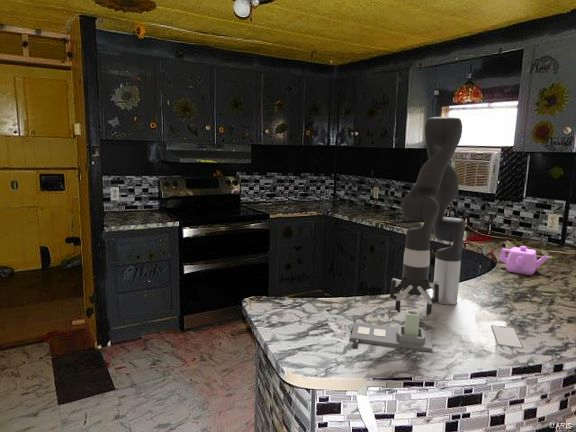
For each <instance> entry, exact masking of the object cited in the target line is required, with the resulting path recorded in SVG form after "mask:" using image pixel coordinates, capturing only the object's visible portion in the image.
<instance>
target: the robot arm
mask: <svg viewBox="0 0 576 432" xmlns="http://www.w3.org/2000/svg"><path fill="white" fill-rule="evenodd" d="M462 123H463V122H462V120H461V118H460V117H457V116H434V117H429V118H427V120H426V121H425V123H424V139H425V145H426V151H427V155H428V156H427V157H428V160H426V162H424V163H423V165H422V167H421V168H420V170H419V173H418V175H417V178H416V182H415V184H414V185H413V186H412V188H411V189H410V191H409V192H408V193H407V195H406V196H405V198H404V199H403V201H402V204H401V208H400V211H401V214H402V216H403V218H404V219H407V220H411V221H419V222H423V224H422V225H421V226H415V227H411V228H408V229H407V230H406V235H405V247H404V253H403V264H402V265H403V266H402V277H401V279H398V278H395V277H392V278H391V284H390V290H389V291H390V294H389V298H390V299H393V300H394V301H395V306H394V307H395V308H394V309H395V311H397V313H398V314H400V313H401V302H402V301H401V300H402V298H404V297H405V296H406V295H408V296H417V297H420V296H422V297H423V298H424V299H425V301H426V308H425V309H426V310H425V315H426V316H428V317H429V316H430V315H431V314H432V308H433V304H440V305H446V306H447V305H451V306H452V305H456V304H458V296H459V295H458V294H459V285H460V284H459V283H460V275H461V262H462V254H463V244H464V239H465V238H464V236H465V233H466V232H465V231H466V224H465V223H466V222H465V220H464V219H462V218H458V217H447V216H445V214H444V213H445V211H447V208H448V207H449V206H450V205H451V204H452V203H453V202H454V200H455V199H456V197H457V196H458V194H459V187H460V186H459V175H458V173H457V171H456V169H455V168H454V166H453V165H452V164H451V163H450V162H451V159H452V157H453V156H454V153H455V152H456V150H457V147H458V145H459V144H460V141H461V138H462V133H463V124H462ZM441 146H442V147H441ZM432 233H433V235H434V238H435V239H436V240H437V241H443V242H452V245H451V246H448V247H444V248H443V247H442V248H439V249H437V250H436V252H435V261H434V262H435V263H434V273H433V274H434V276H433V282H429V275H430V274H429V273H430V263H431V252H430V249H431V240H432V239H431V237H432ZM399 285H401V287H402V289H400V291H399V292H398V293H397V294H396V292H395V291H396V287H398V286H399ZM429 288H431V290H432V297H431V296H430V295H429V293H428V292H427V290H428V289H429Z"/></svg>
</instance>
